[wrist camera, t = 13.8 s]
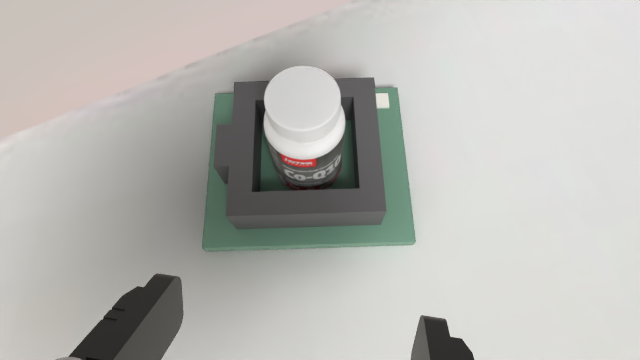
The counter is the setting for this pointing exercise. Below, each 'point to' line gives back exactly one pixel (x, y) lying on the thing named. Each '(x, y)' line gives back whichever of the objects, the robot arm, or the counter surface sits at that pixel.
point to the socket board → (308, 205)
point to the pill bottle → (305, 127)
